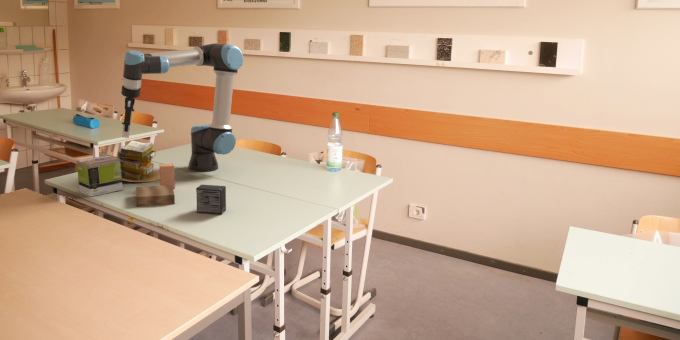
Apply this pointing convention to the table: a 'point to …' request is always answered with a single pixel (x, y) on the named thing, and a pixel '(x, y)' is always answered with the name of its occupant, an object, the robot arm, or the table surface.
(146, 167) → the stacked packets on plate
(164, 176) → the terracotta block
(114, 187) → the tea box
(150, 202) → the walnut plinth
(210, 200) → the small box
